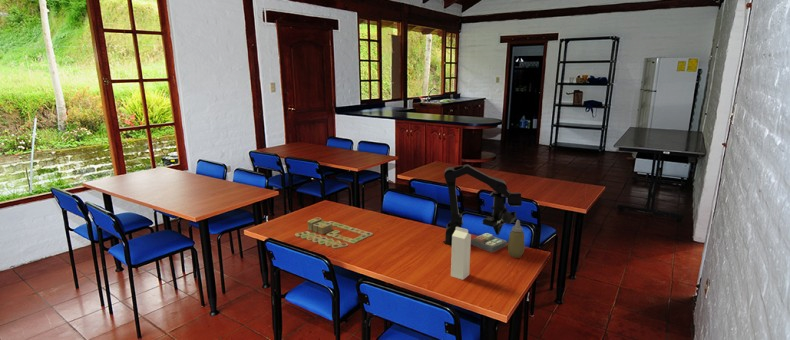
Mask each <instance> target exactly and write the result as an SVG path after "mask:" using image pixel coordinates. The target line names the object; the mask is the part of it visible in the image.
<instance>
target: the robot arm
mask: <svg viewBox="0 0 790 340" xmlns="http://www.w3.org/2000/svg"><path fill="white" fill-rule="evenodd" d="M465 175H468V176H470V177H472V178H473V179H476V180H478V181H480V182H482V183H484V184H485V185H487V186H488V187H490V189H492V190H493V191H492V192H491V193H490V194H489V196H490V198H493V205H492V206H491V209H492V213H491V214H490V216H491V217H489V216H488V217H485V218H483V219H482V225H484V226H487V227H490V228H493V230H494V233H495V234H496V236H499V235H500V233H501V230H502V228H503V226H504V225H505V224H508V225H510V224H512V223H514V221H516V219H517V212H516V211H508V208H507V207H506V204H507V205H508V206H509V207H522V202H523V201H522V192H520V191H519V192H510V190H509V189H508V186H507V183H506V181H504V180H503V179H502V178H501V179H500V178H497V177H493V176H490V175H488V174H486V173H484V172H482V171H481V170H478V169H477V168H474V167H473V166H471V165H470V164H463V165H458V166H454V167H453V166H449V167H446V169H445V170H444V174H443V176H444V177H443V178H444V180H445V182H446V186H447V189H448V191H447V192H448V197H449V206H450V221H449V222H448V223H447V224H446V228H445V233H444V235H445V239H444V240H443V241H442V243H444V244H446V245H448V246H451V247H452V235H453V233H454V232H455V230H456V227H460V228H463V227H462V226H463V225H464V219H463V213H460V212H459V207H458V196H457V187H456V180H457V178H459V177H462V176H465Z"/></svg>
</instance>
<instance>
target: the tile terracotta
mask: <svg viewBox="0 0 790 340" xmlns="http://www.w3.org/2000/svg"><path fill="white" fill-rule="evenodd" d="M481 235H482V234H481ZM481 235H478V236H475V237H474V238H475V241H478V242H481V243H482V242H485V241H487V238H486V237H484V236H481Z"/></svg>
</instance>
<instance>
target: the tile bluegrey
mask: <svg viewBox="0 0 790 340" xmlns="http://www.w3.org/2000/svg"><path fill="white" fill-rule="evenodd" d="M492 242H495V243H498V244H499V243H501V242H503V241H501V240H499V239H494V240H492Z"/></svg>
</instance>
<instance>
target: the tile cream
mask: <svg viewBox="0 0 790 340" xmlns="http://www.w3.org/2000/svg"><path fill="white" fill-rule="evenodd" d="M485 244H486V245H489V246H494V245H496V243H493V242H491V241H489V242H487V243H485Z"/></svg>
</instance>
